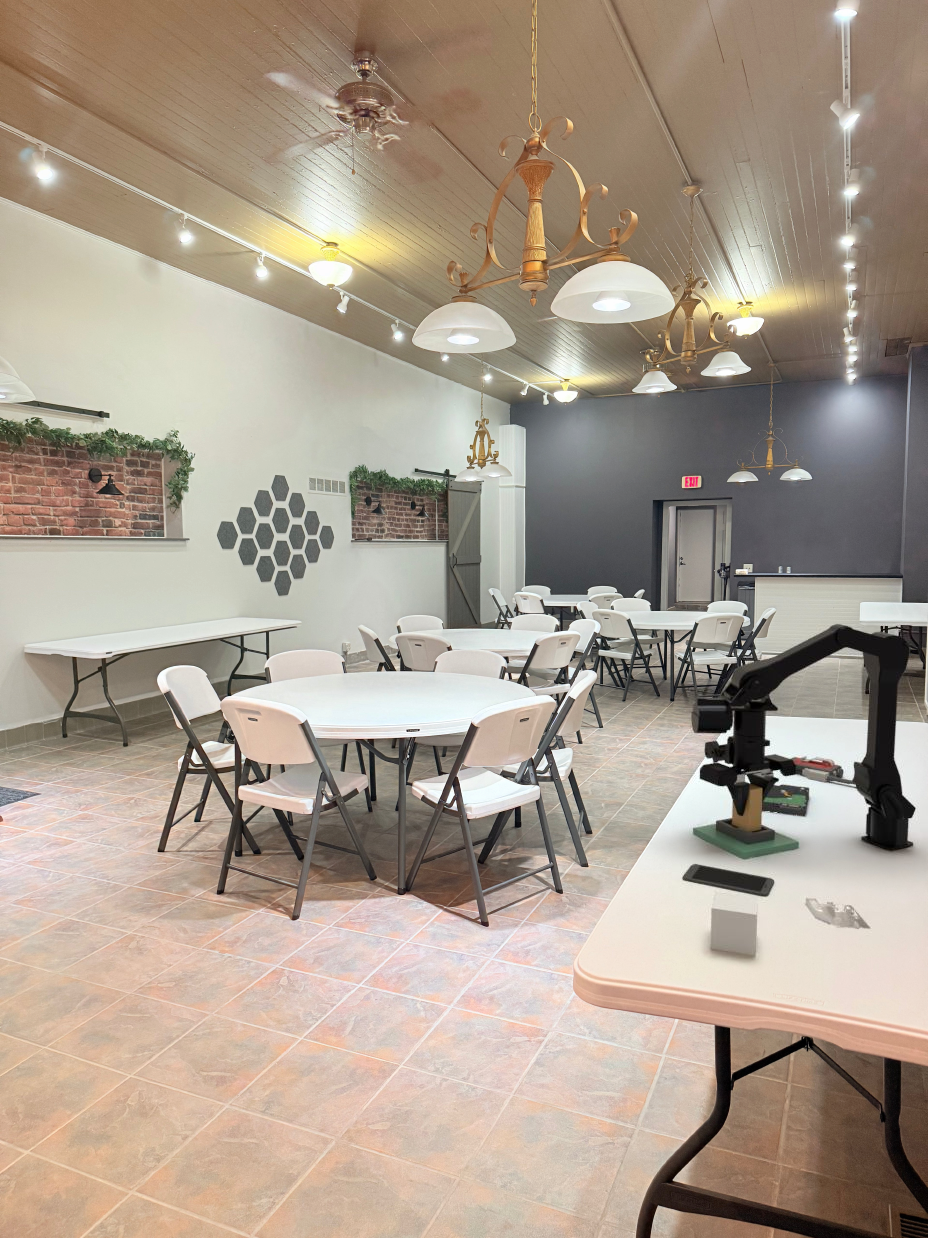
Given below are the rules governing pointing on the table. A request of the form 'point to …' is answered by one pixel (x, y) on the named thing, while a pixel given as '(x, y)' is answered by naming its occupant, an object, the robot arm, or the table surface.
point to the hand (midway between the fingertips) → (747, 814)
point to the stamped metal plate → (836, 915)
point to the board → (745, 839)
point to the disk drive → (787, 800)
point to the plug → (750, 811)
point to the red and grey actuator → (820, 769)
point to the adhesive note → (734, 923)
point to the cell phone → (729, 880)
